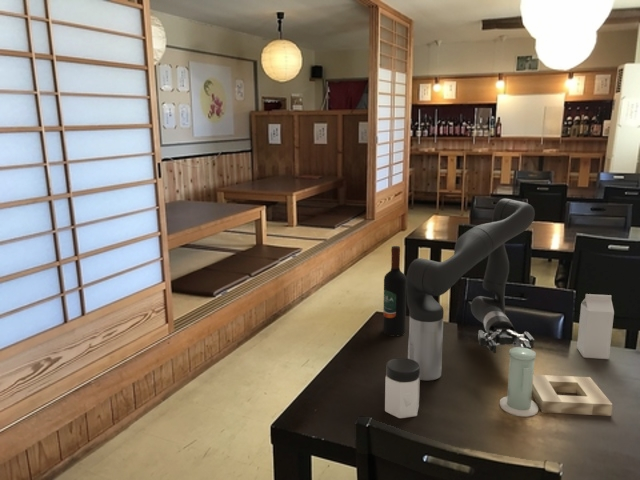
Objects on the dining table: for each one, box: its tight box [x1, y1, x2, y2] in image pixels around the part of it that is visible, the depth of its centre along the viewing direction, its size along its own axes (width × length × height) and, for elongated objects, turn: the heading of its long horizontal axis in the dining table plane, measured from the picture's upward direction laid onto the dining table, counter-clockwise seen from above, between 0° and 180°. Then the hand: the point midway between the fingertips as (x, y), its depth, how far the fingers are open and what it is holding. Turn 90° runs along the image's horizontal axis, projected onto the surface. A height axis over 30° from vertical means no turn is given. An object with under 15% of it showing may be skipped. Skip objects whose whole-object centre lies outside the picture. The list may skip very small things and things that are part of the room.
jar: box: [384, 357, 421, 419], centre depth 127 cm, size 9×8×12 cm
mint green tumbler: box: [506, 346, 537, 410], centre depth 127 cm, size 6×8×14 cm
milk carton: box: [576, 293, 615, 360], centre depth 156 cm, size 7×7×19 cm
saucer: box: [499, 395, 539, 418], centre depth 129 cm, size 9×9×1 cm
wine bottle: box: [382, 245, 407, 337], centre depth 174 cm, size 8×8×30 cm
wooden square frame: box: [532, 374, 613, 417], centre depth 132 cm, size 16×14×3 cm
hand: (511, 350), depth 137 cm, fingers open, 8 cm apart
